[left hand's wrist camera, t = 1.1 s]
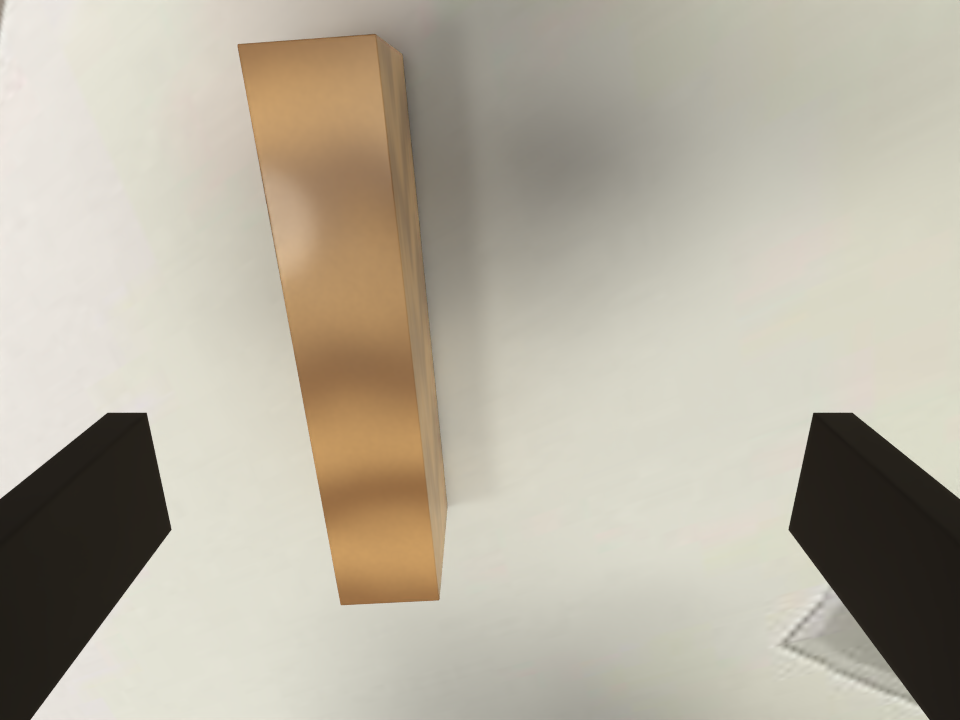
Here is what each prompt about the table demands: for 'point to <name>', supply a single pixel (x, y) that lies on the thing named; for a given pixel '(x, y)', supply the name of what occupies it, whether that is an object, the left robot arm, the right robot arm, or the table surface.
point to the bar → (355, 302)
